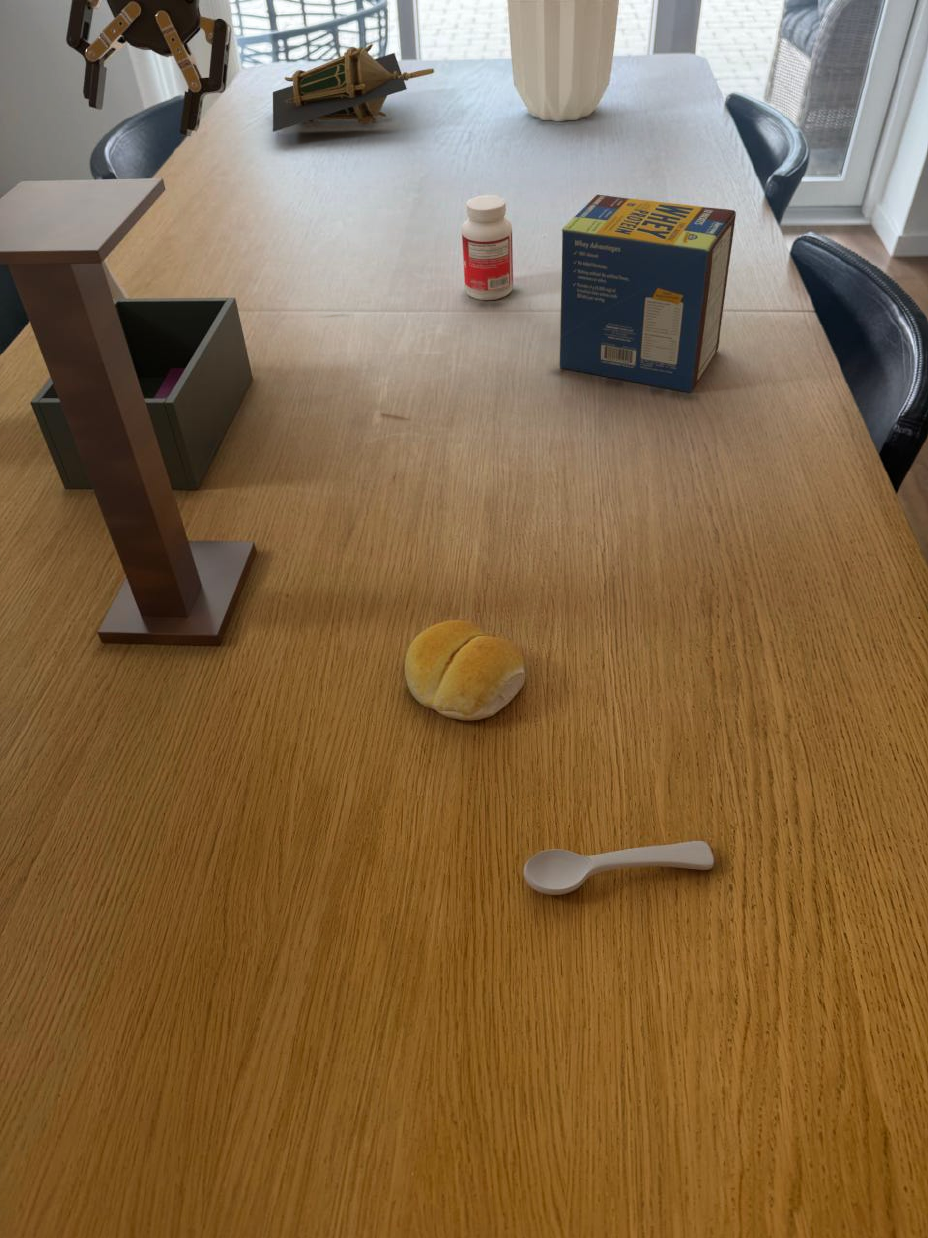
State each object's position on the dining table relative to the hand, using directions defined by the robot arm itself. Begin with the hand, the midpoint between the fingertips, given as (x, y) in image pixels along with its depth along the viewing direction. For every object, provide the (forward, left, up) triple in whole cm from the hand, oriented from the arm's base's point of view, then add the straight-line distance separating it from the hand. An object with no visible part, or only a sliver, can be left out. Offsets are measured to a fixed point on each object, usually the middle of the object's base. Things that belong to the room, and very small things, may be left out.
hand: (140, 121), depth 93 cm
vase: (+39, +96, -27) cm, 107 cm away
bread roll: (+34, -47, -27) cm, 64 cm away
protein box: (+49, +3, -27) cm, 56 cm away
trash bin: (-1, -12, -27) cm, 29 cm away
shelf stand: (+9, -38, -27) cm, 47 cm away
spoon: (+45, -63, -27) cm, 82 cm away
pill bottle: (+31, +21, -27) cm, 46 cm away
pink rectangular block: (-1, -12, -26) cm, 29 cm away
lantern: (+1, +94, -27) cm, 98 cm away
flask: (-16, +13, -27) cm, 34 cm away
